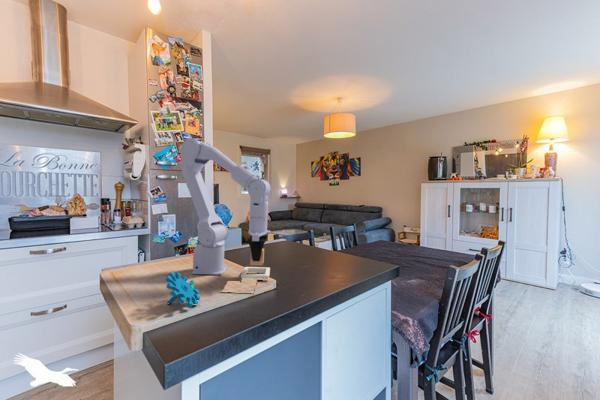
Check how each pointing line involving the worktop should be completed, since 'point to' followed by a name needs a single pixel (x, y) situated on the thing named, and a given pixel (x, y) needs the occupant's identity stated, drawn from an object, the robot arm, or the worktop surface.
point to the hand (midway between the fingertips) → (256, 259)
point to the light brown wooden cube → (257, 261)
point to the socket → (262, 271)
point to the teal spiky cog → (182, 289)
